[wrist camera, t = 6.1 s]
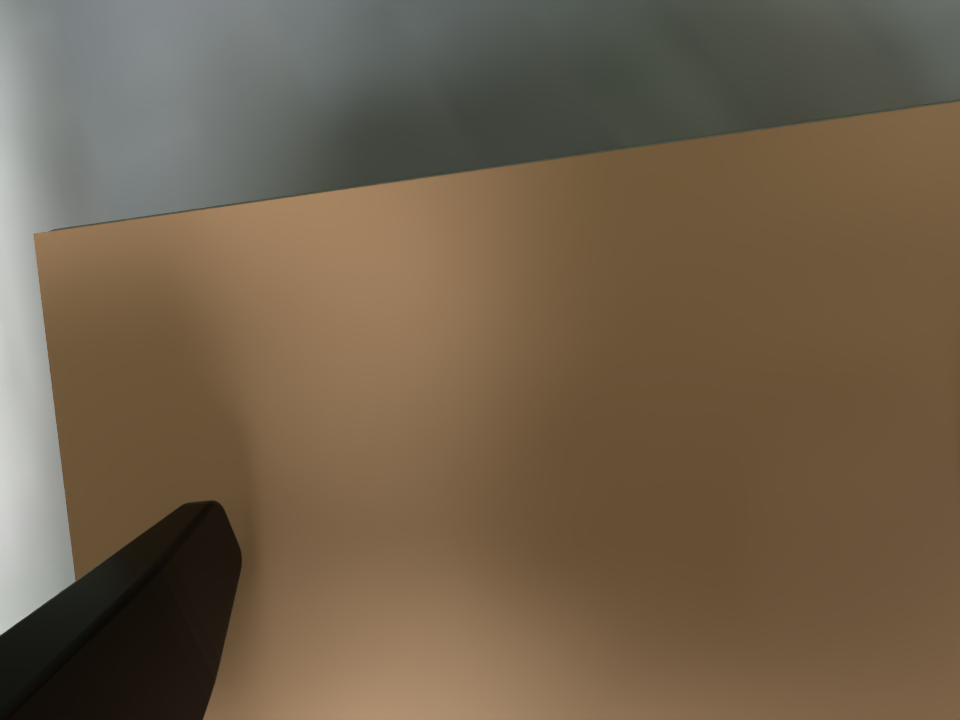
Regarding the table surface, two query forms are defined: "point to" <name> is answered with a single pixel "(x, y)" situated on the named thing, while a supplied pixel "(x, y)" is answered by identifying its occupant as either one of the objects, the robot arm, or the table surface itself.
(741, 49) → the table surface
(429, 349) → the tailgate
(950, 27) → the table surface
